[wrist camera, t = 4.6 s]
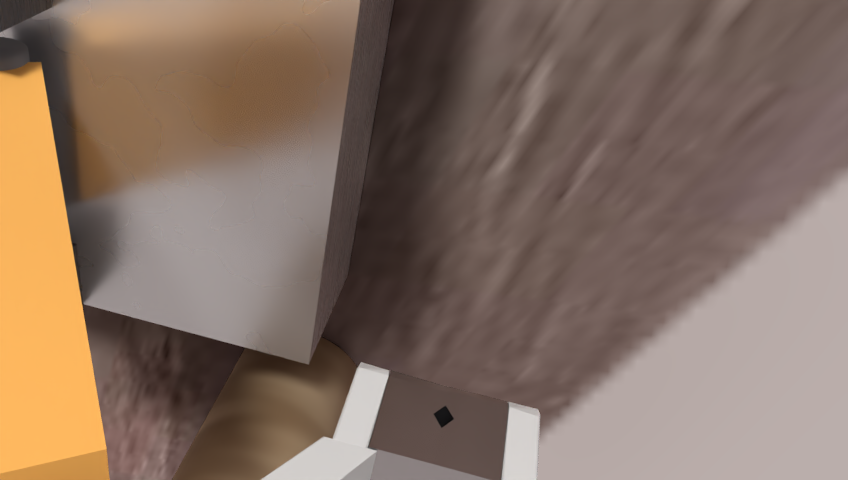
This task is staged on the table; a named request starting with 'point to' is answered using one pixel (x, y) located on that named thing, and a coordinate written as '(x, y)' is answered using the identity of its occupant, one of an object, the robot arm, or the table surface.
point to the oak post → (269, 414)
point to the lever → (40, 298)
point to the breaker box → (211, 154)
